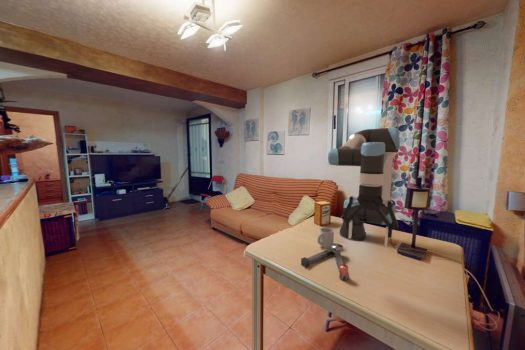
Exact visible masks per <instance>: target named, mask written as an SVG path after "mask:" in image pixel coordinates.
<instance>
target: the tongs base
mask: <svg viewBox="0 0 525 350" xmlns="http://www.w3.org/2000/svg"><path fill="white" fill-rule="evenodd" d="M341 251H342V250H340V256H341V254H342V252H341ZM335 252H336V250H333V249H332V248H327V249H325V250H324V251H321V252H318V253H315V254H314V255H311V256H309V257H304V256H303V257H302V258H300V259H301V260H300V265H301V267H303V268H304V269H307V268H308V267H310V266H312V265H314V264H317V263H318V262H320V261H322V260H325V259H327V258H329V257H333V258H335Z"/></svg>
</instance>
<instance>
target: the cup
mask: <svg viewBox="0 0 525 350" xmlns="http://www.w3.org/2000/svg"><path fill="white" fill-rule="evenodd" d="M334 235H335V230H334V229H332V228H331V227H322V228H320V229H319V233H318V235H317V238H316V240H317V244H318V245H319V246H321V247H322V248H325V249H330V248H331V244H333V243H334V241H335V240H334ZM331 249H332V248H331Z"/></svg>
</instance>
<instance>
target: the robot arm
mask: <svg viewBox="0 0 525 350" xmlns="http://www.w3.org/2000/svg"><path fill="white" fill-rule="evenodd" d="M400 149H401V144H400V130H399V129H398V128H397V127H384V128H368V129H363V130H362V129H361V130H359V131H357V132H355V133H353V134H351V135H350V136H349V137H348V138H347V141H346V142H345V143H344V144H343V145H341V146H340V147H338V148H331V149H329V151H328V154H327V162H328V164H329V165H330V166H337V167H338V166H341V167H342V166H343V167H360V168H359V169H360V171H359V181H358V183H359V185H358V187H359V188H358V196H354V195H351V196H349V198H347V199H345V200H344V202H343V213H342V215H341V219H342V223H341V227H340V229H339V235H340V236H341V237H342V238H345V239H346V240H347V239H348V240H352V241H363V240H366V239H367V232H366V229H365V228H366V227H365V225H364V223H366V222H367V223H371V224H372V223H373V224H378V225H381V226H382V225H384V226H386V227H385V234H384V235H385V236H384V247H385V248H387V247H388V238H390V239H391V238H392V236H393V230H394V229H396V230H398V229H400V228H399V227H400V226H399V221H398V220H397V218H396V214H395V211H396V205H394V204H393V201H392V199H391V198H390V197H391V186H392V172H393V171H392V170H393V159H394V156H395V155H396V154H397V152H398V151H399V150H400Z"/></svg>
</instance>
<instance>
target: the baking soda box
mask: <svg viewBox="0 0 525 350" xmlns="http://www.w3.org/2000/svg"><path fill="white" fill-rule="evenodd" d="M313 210H314V213H313V224H314V223H315V224H314V225H316V224H317V225H316V226H318V225H319V227H323V226H324V225H325V226H328V225H331V221H332V220H331V218H332V217H331V216H332V215H331V214H332V203H331V202H328V201H325V200H323V201H317V202H314V209H313ZM325 226H324V227H325Z"/></svg>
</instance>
